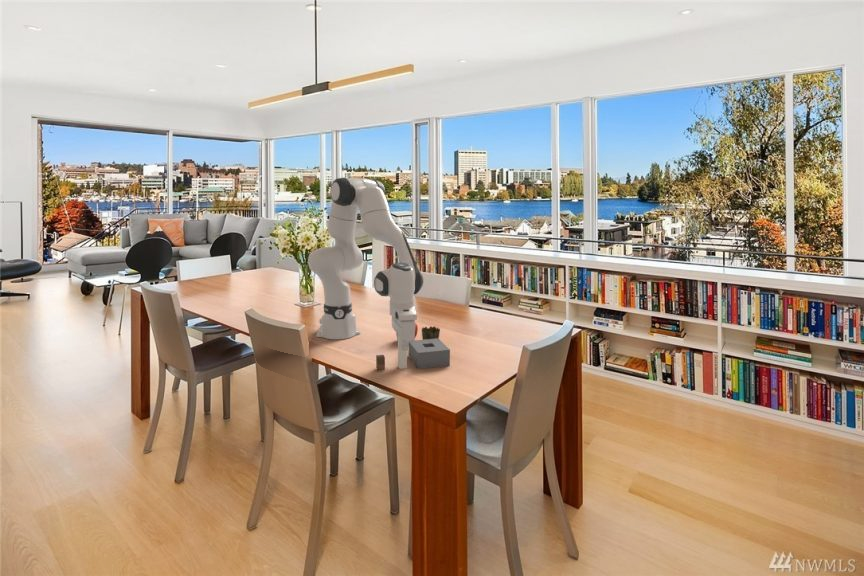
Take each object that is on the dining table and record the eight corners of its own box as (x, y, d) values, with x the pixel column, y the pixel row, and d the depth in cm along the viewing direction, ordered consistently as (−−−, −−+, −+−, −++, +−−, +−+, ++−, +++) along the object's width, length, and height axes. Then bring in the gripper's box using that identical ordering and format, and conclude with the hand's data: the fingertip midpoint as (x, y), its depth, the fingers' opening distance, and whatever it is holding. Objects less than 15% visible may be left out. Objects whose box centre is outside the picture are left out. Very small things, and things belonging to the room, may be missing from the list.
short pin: (376, 368, 169) (376, 355, 168) (383, 367, 170) (383, 354, 169) (377, 371, 167) (377, 357, 166) (384, 370, 168) (384, 357, 167)
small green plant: (423, 351, 188) (424, 331, 186) (419, 345, 195) (419, 326, 193) (441, 349, 190) (442, 330, 188) (436, 344, 197) (437, 325, 195)
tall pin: (398, 366, 172) (398, 334, 169) (405, 365, 172) (405, 334, 170) (399, 368, 169) (399, 336, 167) (406, 368, 170) (406, 336, 168)
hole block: (408, 355, 183) (408, 340, 181) (438, 352, 186) (438, 338, 185) (418, 368, 169) (418, 352, 168) (449, 365, 173) (450, 349, 172)
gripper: (387, 303, 175) (387, 339, 178) (400, 317, 156) (400, 357, 159) (404, 302, 177) (404, 337, 180) (418, 316, 158) (418, 355, 161)
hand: (402, 347), depth 169 cm, fingers open, 6 cm apart
